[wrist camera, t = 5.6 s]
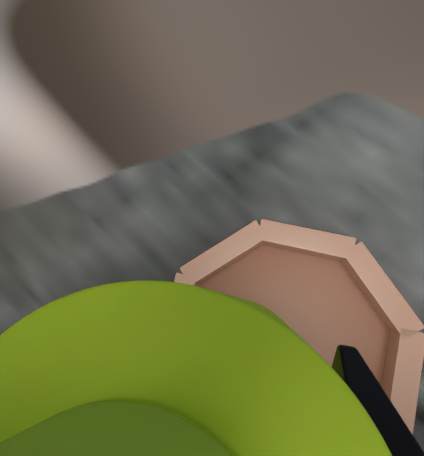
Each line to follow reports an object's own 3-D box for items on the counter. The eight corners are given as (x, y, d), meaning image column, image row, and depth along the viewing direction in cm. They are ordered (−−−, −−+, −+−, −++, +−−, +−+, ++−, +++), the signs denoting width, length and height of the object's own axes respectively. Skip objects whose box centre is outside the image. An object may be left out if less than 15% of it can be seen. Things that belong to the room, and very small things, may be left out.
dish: (463, 394, 18) (485, 405, 17) (245, 524, 19) (242, 550, 17) (313, 189, 22) (317, 179, 20) (131, 304, 22) (118, 304, 20)
